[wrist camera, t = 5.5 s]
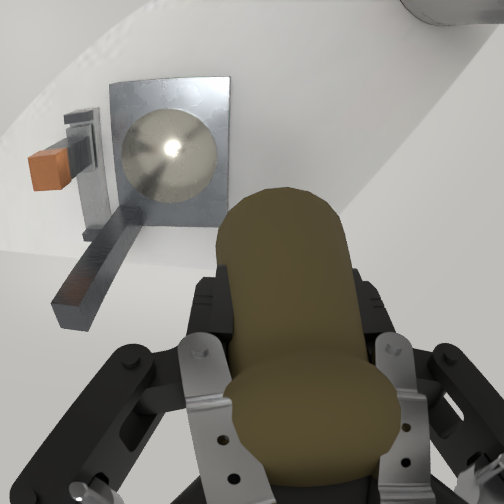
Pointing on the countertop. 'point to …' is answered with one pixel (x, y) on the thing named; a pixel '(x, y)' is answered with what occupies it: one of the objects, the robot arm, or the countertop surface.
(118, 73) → the countertop surface
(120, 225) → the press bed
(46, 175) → the lever
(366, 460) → the cork
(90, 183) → the lever rail
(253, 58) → the countertop surface
